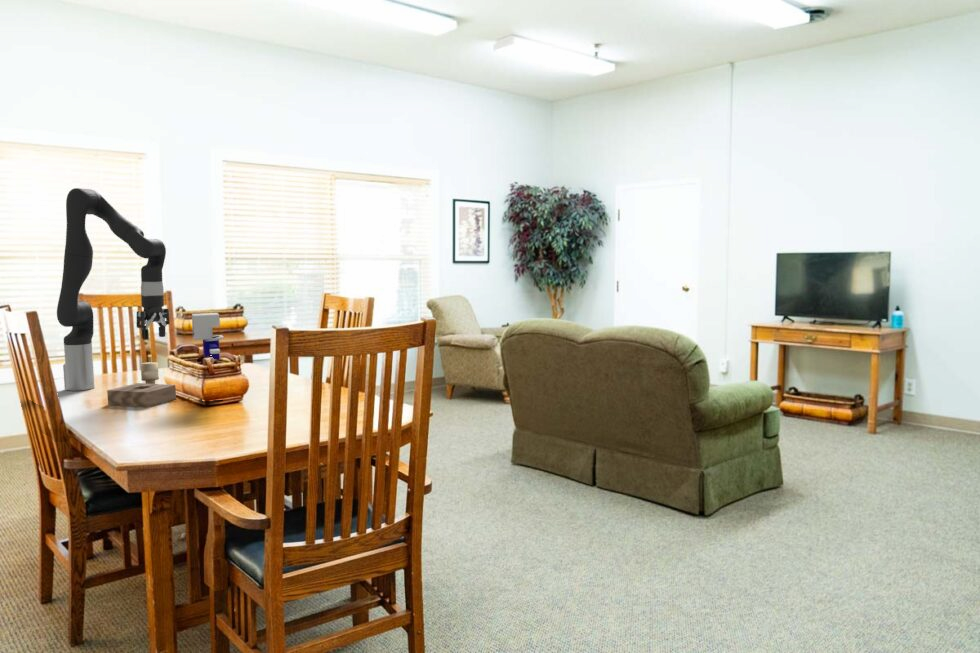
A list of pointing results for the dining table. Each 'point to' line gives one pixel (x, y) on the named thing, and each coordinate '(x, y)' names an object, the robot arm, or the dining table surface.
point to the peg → (149, 372)
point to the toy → (207, 332)
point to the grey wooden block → (141, 395)
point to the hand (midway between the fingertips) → (153, 338)
